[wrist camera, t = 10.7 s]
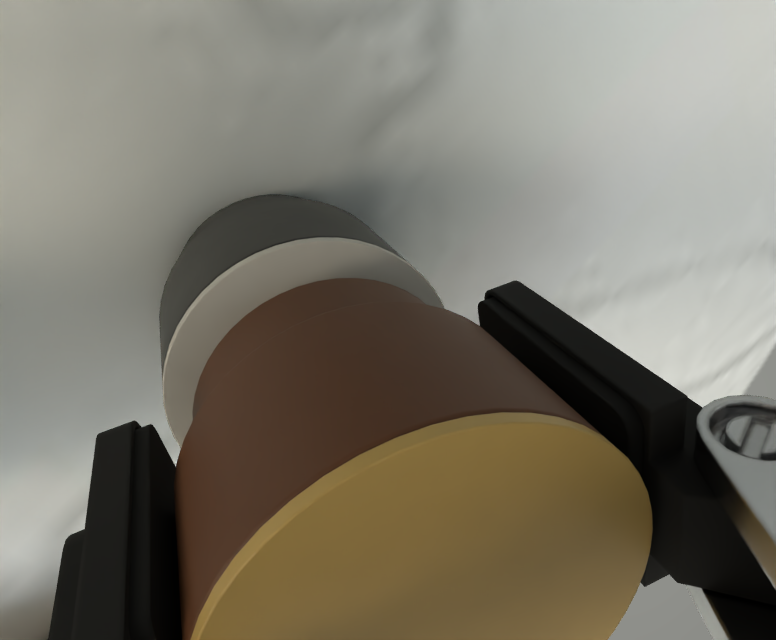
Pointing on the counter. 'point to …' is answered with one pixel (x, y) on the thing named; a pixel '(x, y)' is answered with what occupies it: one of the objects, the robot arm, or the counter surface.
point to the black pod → (259, 279)
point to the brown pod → (395, 484)
